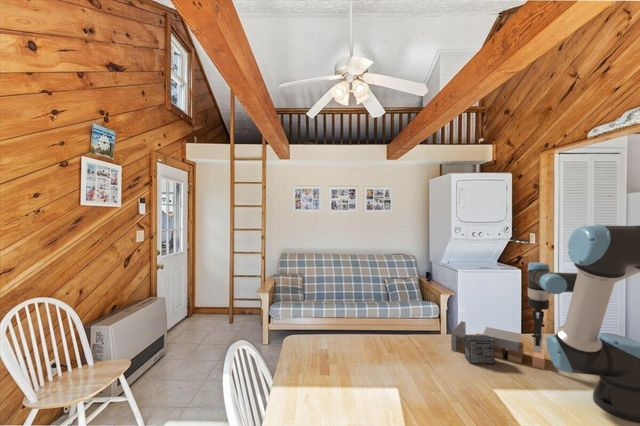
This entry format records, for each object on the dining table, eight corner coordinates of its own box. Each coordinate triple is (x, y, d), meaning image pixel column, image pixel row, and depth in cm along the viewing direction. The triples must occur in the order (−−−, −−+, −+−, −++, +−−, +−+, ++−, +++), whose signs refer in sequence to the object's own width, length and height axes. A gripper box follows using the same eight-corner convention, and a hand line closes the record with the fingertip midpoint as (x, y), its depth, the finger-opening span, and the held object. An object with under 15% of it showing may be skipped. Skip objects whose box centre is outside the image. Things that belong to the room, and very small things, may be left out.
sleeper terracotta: (544, 369, 126) (544, 358, 126) (532, 366, 129) (532, 356, 129) (545, 359, 135) (544, 349, 135) (534, 357, 138) (534, 347, 138)
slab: (518, 351, 132) (518, 342, 132) (482, 343, 140) (482, 334, 140) (520, 342, 141) (520, 333, 141) (486, 335, 150) (486, 326, 150)
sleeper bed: (521, 363, 131) (521, 351, 131) (472, 351, 143) (472, 340, 143) (523, 353, 140) (523, 343, 140) (477, 343, 152) (477, 333, 152)
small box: (488, 358, 137) (488, 334, 137) (495, 365, 130) (495, 340, 130) (464, 357, 138) (464, 333, 138) (469, 364, 131) (469, 339, 131)
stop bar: (455, 351, 143) (455, 334, 143) (451, 350, 145) (451, 333, 145) (465, 337, 159) (465, 322, 159) (461, 336, 160) (461, 321, 160)
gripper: (548, 307, 120) (548, 360, 120) (549, 292, 140) (549, 338, 140) (525, 304, 124) (525, 355, 125) (529, 290, 144) (529, 334, 145)
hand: (538, 346), depth 133 cm, fingers open, 13 cm apart
